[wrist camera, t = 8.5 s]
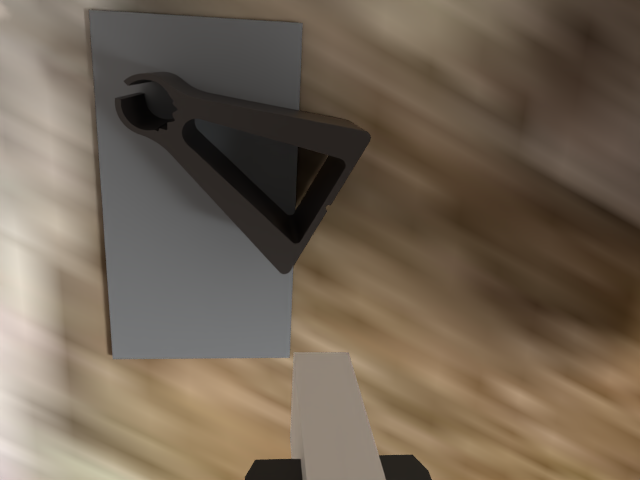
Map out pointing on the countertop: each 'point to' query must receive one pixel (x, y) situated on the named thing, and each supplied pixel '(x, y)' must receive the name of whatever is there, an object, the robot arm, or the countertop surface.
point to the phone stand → (227, 179)
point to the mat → (191, 188)
